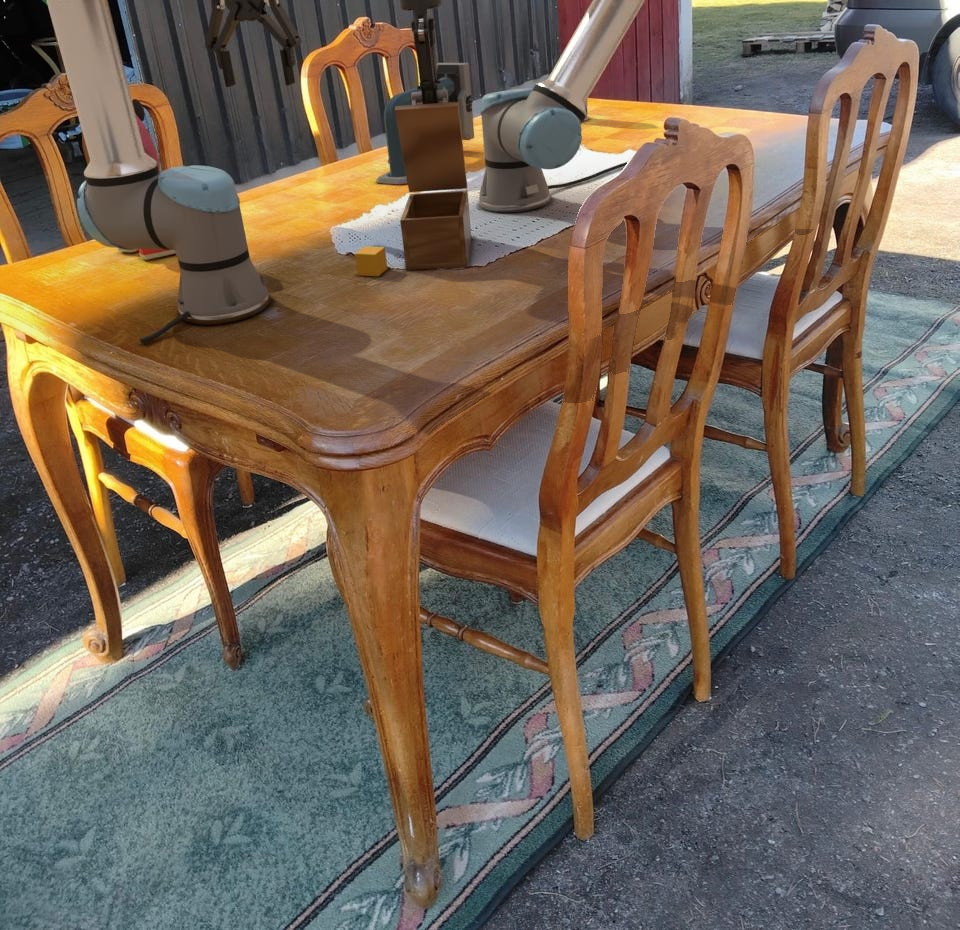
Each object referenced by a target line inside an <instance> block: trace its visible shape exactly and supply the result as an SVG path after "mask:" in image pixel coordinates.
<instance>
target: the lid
mask: <svg viewBox="0 0 960 930" xmlns="http://www.w3.org/2000/svg"><path fill="white" fill-rule="evenodd" d="M411 99H412V105H407V106H395V114H396V120H397V125H398V131H399V137H400V142H401V148H402V154H403V160H404V165H405V171H406V177H407V182H408V183H407V186H408V187H407V188H408V192H409V193H423V192H439V191H454V190H467V189H468V179H467V171H466V161H465V151H464V141H463V140H462V133H461V125H460V116H459V107H458V102H449V103H447V102H448V91H447V90H437V99H438V102H443V103H435V104H422V103H423V101H422V92H412V93H411ZM416 104H421V105H416Z"/></svg>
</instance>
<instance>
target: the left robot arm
mask: <svg viewBox="0 0 960 930" xmlns="http://www.w3.org/2000/svg"><path fill="white" fill-rule="evenodd" d="M46 4H47V7H48V12H49V15H50V19H51V22H52V26H53V29H54V33H55V37H56V40H57V44H58V47H59V51H60V54H61V55H60V56H61V58H62V63H63V66H64V69H65V73H66V77H67V80H68V85H69V87H70V91H71V96H72V98H73V101H74V106H75V109H76V113H77V116H78V121H79V124H80V128H81V133H82V132H83V135H84V139H85V143H86V146H87V150H88V153H89V157H90V163H89V164H88V165H87V166H86V168H85V169H84V171H83V176H84V179H85V180H84V181H83V182H82V183H81V185H80V186H79V189H78V193H77V194H78V196H79V198H77V199H76V205H77V211H78V212H77V213H78V215H79V219H80V221H81V224H82V226H83V228H84V229H85V231H86V232H87V233H88V235H89V236H90V237H91V238H92V239H93V240H95V241H96V242H97V243H99V244H100V245H102V246H105V247H108V248H114V249H118V248H120V249H124V250H133V249H159V250H175V251H176V254H175V255H176V258H177V262H178V266H179V283H178V294H177V310H178V314H179V315H178V316H177V317H175V318H174V319H172V320H171V321H169V322H168V323H166V324H165V325H164V326H163V327H161V328H160V329H158V330H156V331H155V332H153V333H151V334H149V335H146V336H144V337H141V338H139V342H140V343H141V344H146V343H148V342H151V341H153V340H155V339H157V338H159V337H160V336H162V335H164V334H165V333H166V332H168V331H169V330H171V329H172V328H173V327H175V326H176V325H178V324H179V323H181V322H182V321H184V322H186V323H189V324H193V325H202V326H203V325H204V326H205V325H206V326H210V325H222V324H230V323H233V322H239V321H241V320H245V319H248V318H251V317H253V316H256V315H258V314H260V312H263V311H264V310H265V309H266V308H267V307H268V306H269V305H270V296H269V291H268V290H267V287H266V285H269V283H268V277H267V276H266V277H265V276H262V275H260V274H259V272H258V270H257V269H256V267H255V265H254V264H253V262H252V260H251V257H250V251H249V246H248V241H247V236H246V232H245V226H244V225H245V224H244V220H243V216H242V210H241V206H240V204H241V199H240V196H239V194H238V191H237V188H236V184H235V181H234V179H233V177H232V176H231V175H230V174H229V173H227V171H225V170H223V169H221V168H217V167H214V166H208V165H198V164H197V165H195V164H194V165H187V166H185V165H180V166H173V167H169V168H166V169H164V170H162V171H160V173H159V169H158V165H157V161H156V160H154V159H153V158H151V157H150V156H148V155H147V154H146V153H145V151H144V147H143V143H142V139H141V135H140V131H139V127H138V123H137V119H136V115H135V111H134V107H133V103H132V100H133V99H132V95H131V91H130V87H129V83H128V79H127V74H126V70H125V67H124V63H123V59H122V58H123V57H122V54H121V50H120V46H119V42H118V38H117V34H116V30H115V26H114V22H113V17H112V13H111V9H110V6H109V1H108V0H46ZM210 4H211V5H210V6H211V14H210V17H209V23H208V27H207V33H206V38H205V43H204V47H205V49H206V50H211V51H214V53H215V57H216V62H217V66H218V68H219V70H222V75H223V79H224V85H225V88H230V87H233V86H235V85H236V79H235V73H234V69H233V63H232V58H231V53H230V50H227V48H226V47H227V46H228V44H229V41H230V39H231V37H232V35H233V33H234V31H235V29H236V27H237V25H238V23H240V22H246V21H248V22H254V21H257V22H258V23H260V24H261V25H262V26H263V27H264V28H265V29H266V31H267V32H268V33H269V34H270V35H271V36H272V37H273V38H274V39H275V40H276V41H277V43H278V45H280V46H281V47H282V48H281V49H279V53H280V59H281V64H282V65H281V66H282V71H283V77H284V83H285V86H291V85H294V84H295V83H296V80H295V79H296V78H295V73H294V66H296V56H295V49H294V48H295V47H296V46H298V45H301V44H302V37H301V36H300V35H299V33H298V31H297V30H296V28H295V26H294V25H293V22H292V21H291V19H290V18H289V15H288V14H287V12H286V11H285V9H284V7H283V5H282V1H281V0H210ZM266 5H267V7H268V8H270V10H271V13H272V14H273V16H274V17H275V19H276V21H277V22H278V24H277V23H276V22H275V20H274V19H273V18H272V16H271V14H270V13H269V12H268V11H267V9H265V6H266ZM225 8H227V9H228V11H229V12H228V14H227V16H226V18H225V23H224V25H223V27H222V29H221V25H222V22H223V21H222V20H223V15H224V10H225ZM220 30H221V31H220Z"/></svg>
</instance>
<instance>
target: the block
mask: <svg viewBox="0 0 960 930" xmlns="http://www.w3.org/2000/svg"><path fill="white" fill-rule="evenodd" d="M354 256H355V264H356V270H357V276H361V277H362V276H363V277H380V276H381V275H382V274H383V273H384V272H386V271H387V270H388V261H387V253H386V247H385V246H366V245H365V246H363V247H362V248H360V249H359V250H357V251H356V252H355V253H354Z"/></svg>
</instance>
